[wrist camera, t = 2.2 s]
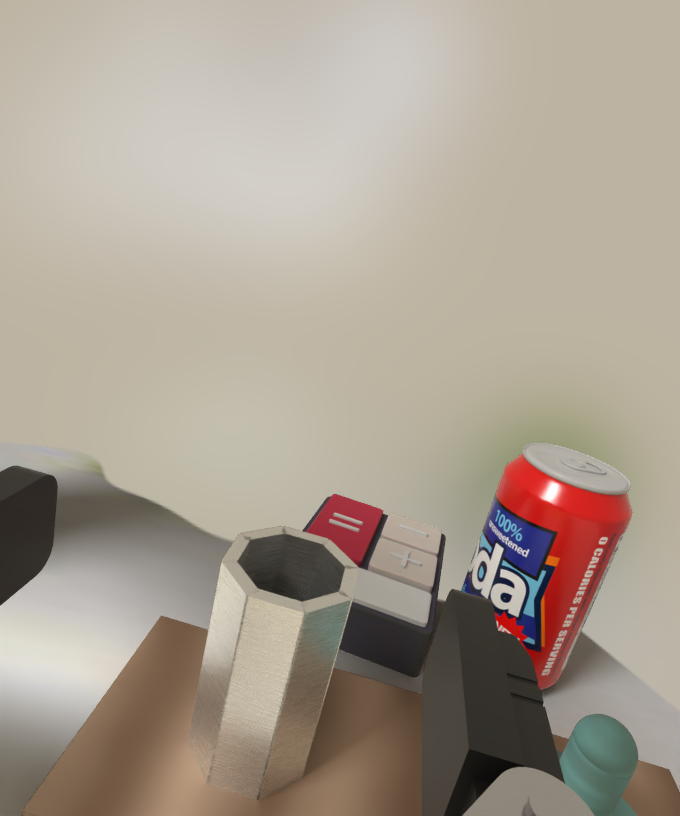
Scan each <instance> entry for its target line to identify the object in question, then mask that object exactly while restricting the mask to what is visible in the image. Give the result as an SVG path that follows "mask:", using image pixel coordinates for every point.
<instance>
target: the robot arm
mask: <svg viewBox="0 0 680 816" xmlns="http://www.w3.org/2000/svg"><path fill="white" fill-rule="evenodd" d="M56 501H57V481H56V479H55V477H54V476H52V475H49V474H45V473H42V472H38V471H35V470H31V469H27V468H24V467H20V466H11V467H9V468H7V469H5V470H3V471H1V472H0V605H2V604H3V603H4V602H5V601H6V600H8V599H9V598H10V597H11V596H12V595H14V594H15V593H16V592H17V591H18V590H20V589H21V588H22V587H23V586H24V585H26V584H27V583H28V582H29V581H30V580H32V579H33V578H34V577H35V576H36V575H37V574H38V573H39V572H40V571H41V570H42V569H43V567H44V566H45V564H46V562H47V560H48V558H49V556H50V554H51V551H52V547H53V538H54V526H55V513H56ZM422 816H595V815H594V814H593V812H592V811H591V810H590V808H589V807H588V806H587V804H586V803H585V802H584V801H583V800H582V799H581V798H580V796H579V795H578V794H576V793H575V792H574V791H573V790H572V789H571V788H570V787H568V786H567V785H566V784H565V781H564V777H563V773H562V770H561V766H560V762H559V758H558V755H557V751H556V747H555V743H554V740H553V736H552V732H551V728H550V725H549V721H548V717H547V713H546V710H545V707H543V698H542V695H541V691H540V687H538V680H537V676H536V672H535V668H534V665H533V661H532V658H531V657H530V655H529V654H528V652H527V651H526V650H525V648H524V647H523V645H522V644H521V643H520V641H519V640H518V639H517V637H516V636H515V635H512V634H509V633H505V632H502V631H498V627H497V622H496V617H495V612H494V607H493V603H492V601H491V600H490V599H487V598H483V597H479V596H476V595H472V594H469V593H465V592H462V591H458V590H454V589H452V590H451V591H450V592H449V594H448V597H447V599H446V602H445V605H444V608H443V611H442V614H441V617H440V620H439V623H438V626H437V629H436V632H435V635H434V638H433V641H432V644H431V647H430V650H429V654H428V657H427V661H426V665H425V670H424V676H423V684H422Z"/></svg>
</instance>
